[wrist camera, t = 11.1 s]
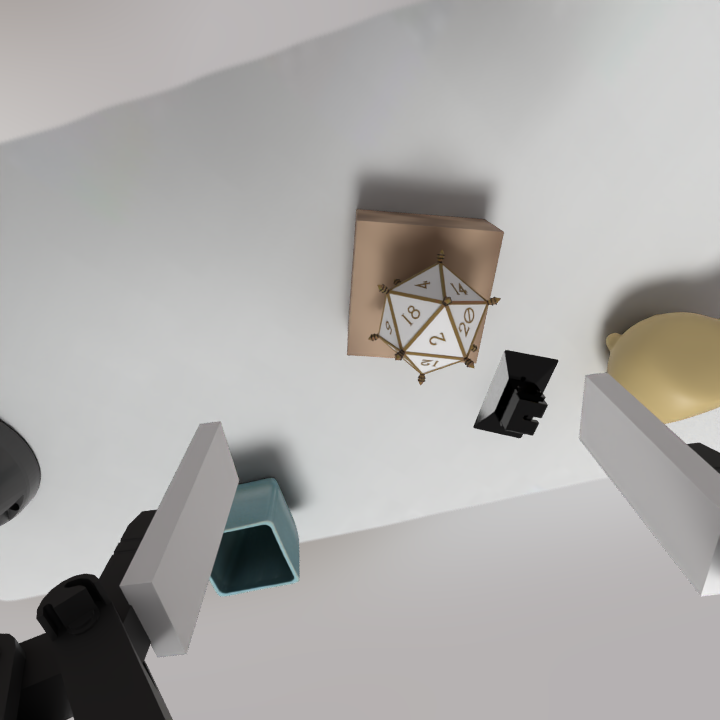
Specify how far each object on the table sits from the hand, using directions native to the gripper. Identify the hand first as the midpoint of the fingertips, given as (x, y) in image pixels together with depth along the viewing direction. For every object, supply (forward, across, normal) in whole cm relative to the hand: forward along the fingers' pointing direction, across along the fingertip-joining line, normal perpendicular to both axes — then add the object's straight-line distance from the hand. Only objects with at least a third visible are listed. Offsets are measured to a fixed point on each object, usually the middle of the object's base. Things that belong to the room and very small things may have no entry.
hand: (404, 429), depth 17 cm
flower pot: (+27, -16, -26) cm, 41 cm away
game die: (+21, +4, -3) cm, 22 cm away
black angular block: (+27, +13, -16) cm, 34 cm away
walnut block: (+27, +4, -2) cm, 27 cm away
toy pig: (+26, +26, -12) cm, 39 cm away
